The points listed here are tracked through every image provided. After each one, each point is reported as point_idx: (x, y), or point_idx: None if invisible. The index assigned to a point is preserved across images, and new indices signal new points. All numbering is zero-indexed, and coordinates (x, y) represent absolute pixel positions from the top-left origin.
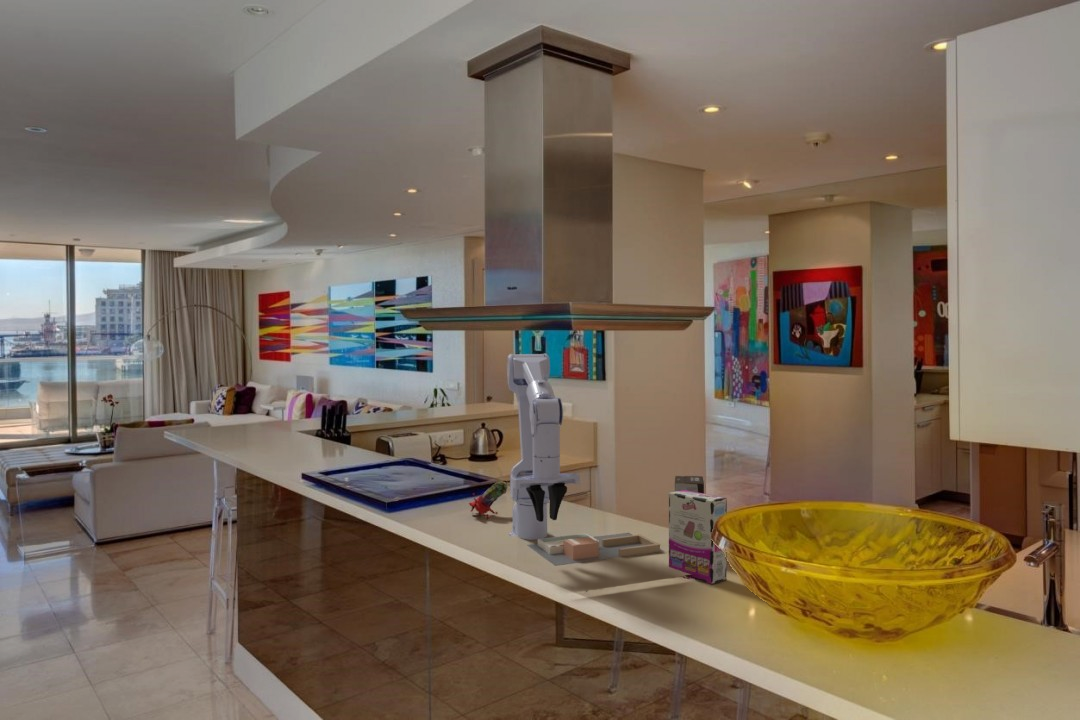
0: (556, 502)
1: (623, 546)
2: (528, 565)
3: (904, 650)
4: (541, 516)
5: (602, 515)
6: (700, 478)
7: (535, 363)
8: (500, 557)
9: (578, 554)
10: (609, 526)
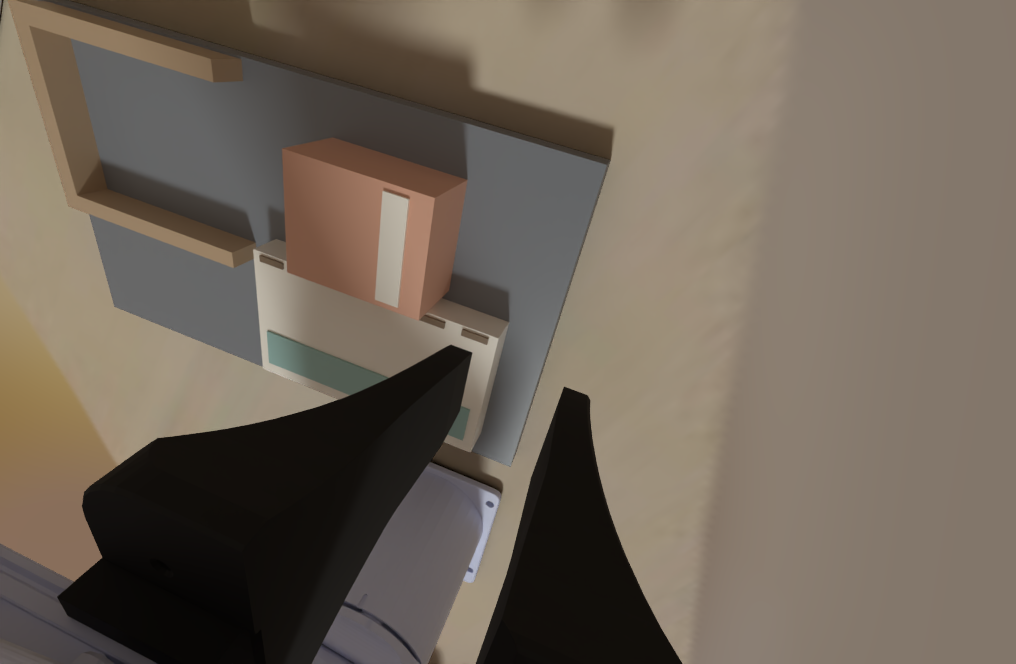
0: (380, 425)
1: (179, 184)
2: (658, 312)
3: None
4: (576, 414)
5: None
6: None
7: None
8: (672, 464)
9: (427, 176)
10: (157, 416)
